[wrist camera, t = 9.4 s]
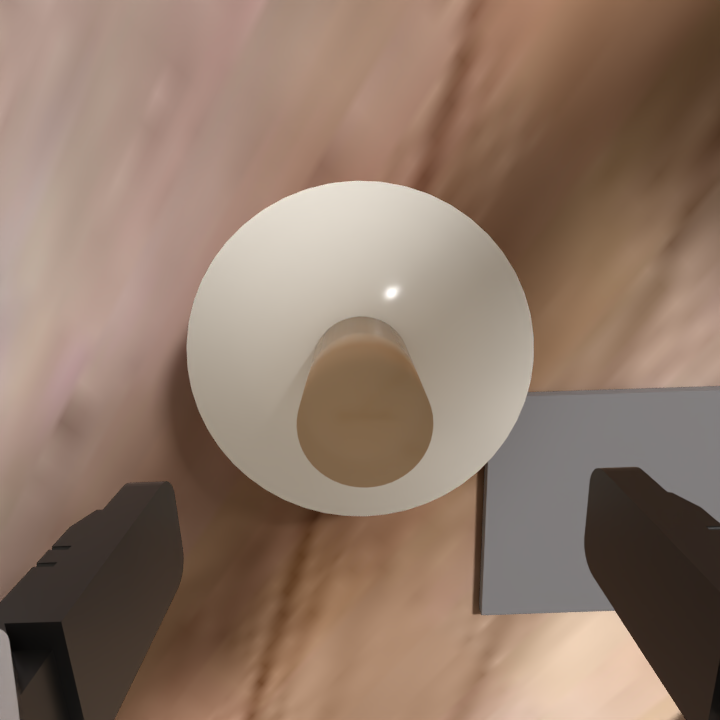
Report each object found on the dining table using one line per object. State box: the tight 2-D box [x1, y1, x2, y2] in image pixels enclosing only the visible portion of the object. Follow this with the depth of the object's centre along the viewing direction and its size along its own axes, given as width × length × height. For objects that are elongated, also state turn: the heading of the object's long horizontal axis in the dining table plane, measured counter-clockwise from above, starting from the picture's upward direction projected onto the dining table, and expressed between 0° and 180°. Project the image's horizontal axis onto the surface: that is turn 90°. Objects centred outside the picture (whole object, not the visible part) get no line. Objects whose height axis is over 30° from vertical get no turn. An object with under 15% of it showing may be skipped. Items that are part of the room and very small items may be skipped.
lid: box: [186, 181, 534, 516], centre depth 17 cm, size 13×13×7 cm
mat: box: [479, 386, 720, 615], centre depth 28 cm, size 13×13×1 cm
